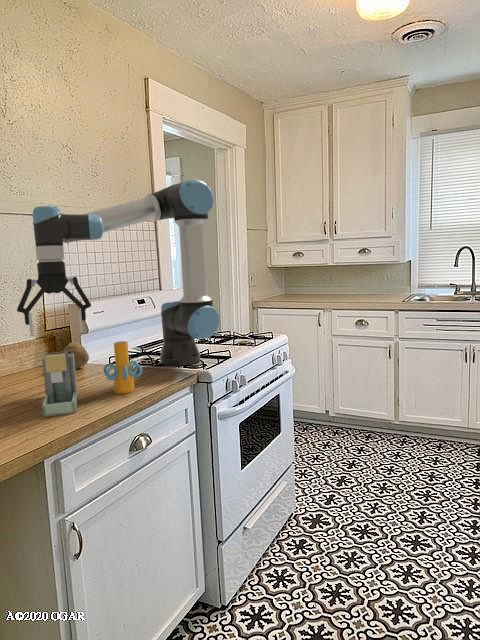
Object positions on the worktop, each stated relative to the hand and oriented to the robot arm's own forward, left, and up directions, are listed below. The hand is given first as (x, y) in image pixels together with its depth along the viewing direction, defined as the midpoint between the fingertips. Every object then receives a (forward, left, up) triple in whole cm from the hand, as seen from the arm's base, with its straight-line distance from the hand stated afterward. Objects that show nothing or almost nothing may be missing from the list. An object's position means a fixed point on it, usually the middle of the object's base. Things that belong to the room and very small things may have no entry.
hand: (57, 333), depth 145 cm
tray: (0, +15, -19) cm, 24 cm away
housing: (0, +8, -19) cm, 20 cm away
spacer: (0, +15, -8) cm, 17 cm away
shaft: (0, +7, -12) cm, 14 cm away
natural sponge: (-2, -38, -19) cm, 42 cm away
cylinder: (-18, +4, -19) cm, 26 cm away
